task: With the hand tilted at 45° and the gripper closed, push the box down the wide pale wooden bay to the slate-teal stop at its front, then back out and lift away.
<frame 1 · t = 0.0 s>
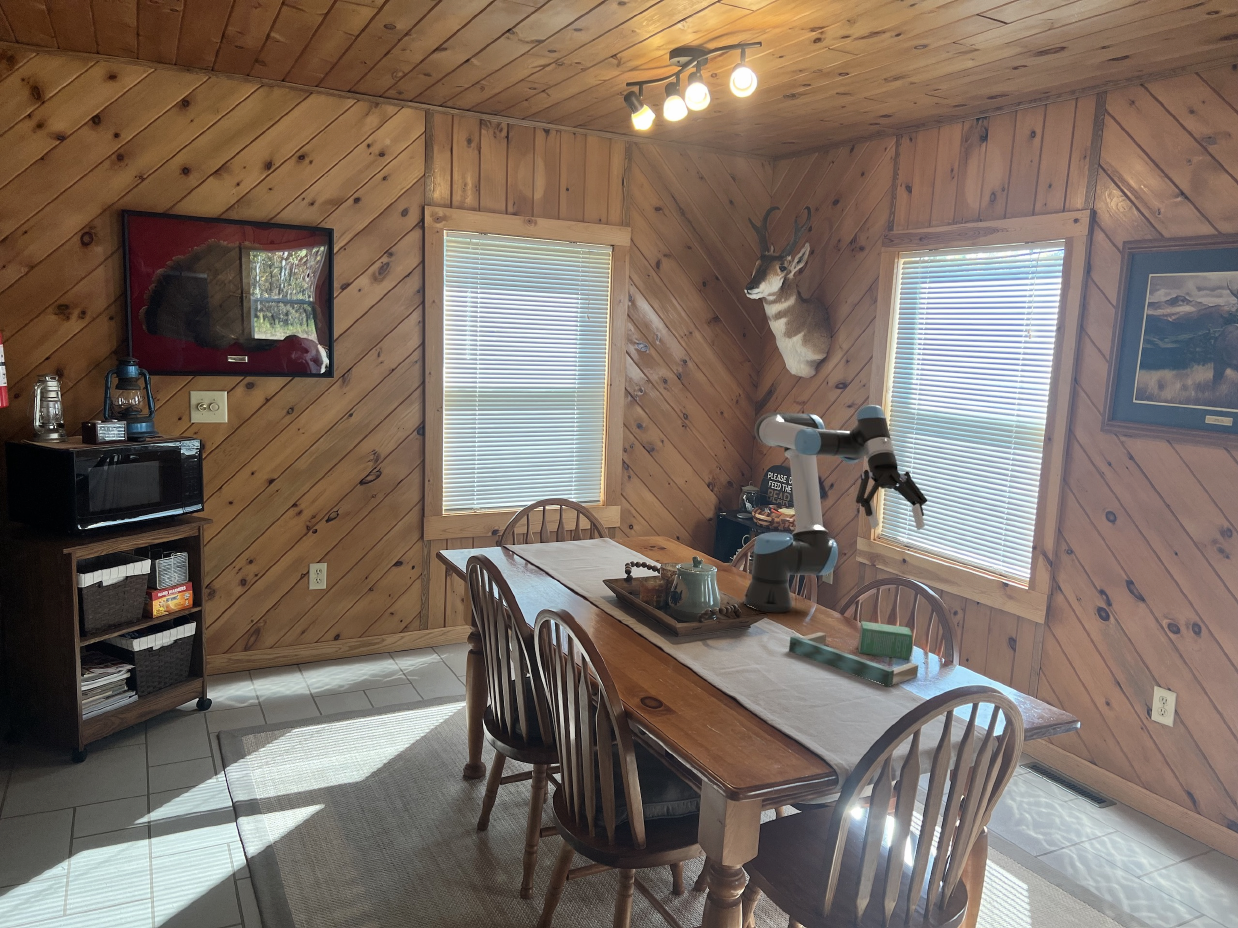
hand: (898, 527, 233), 36 cm above the table, tool tilted 35°, fingers open, 13 cm apart
box: (883, 653, 242), on the table
bay: (857, 661, 233), on the table
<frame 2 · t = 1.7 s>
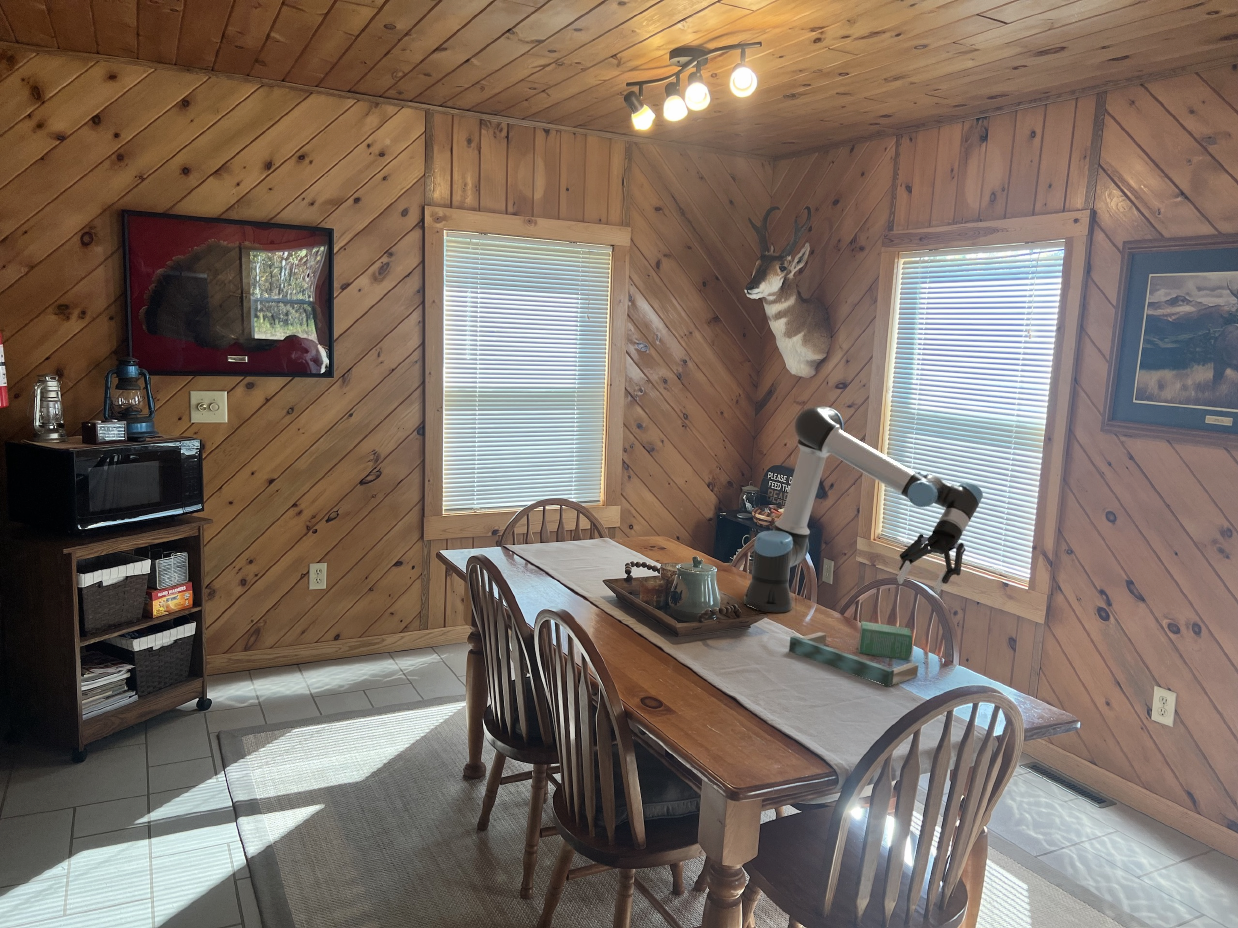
hand: (917, 585, 249), 17 cm above the table, tool tilted 45°, fingers open, 11 cm apart
nothing on the table moved.
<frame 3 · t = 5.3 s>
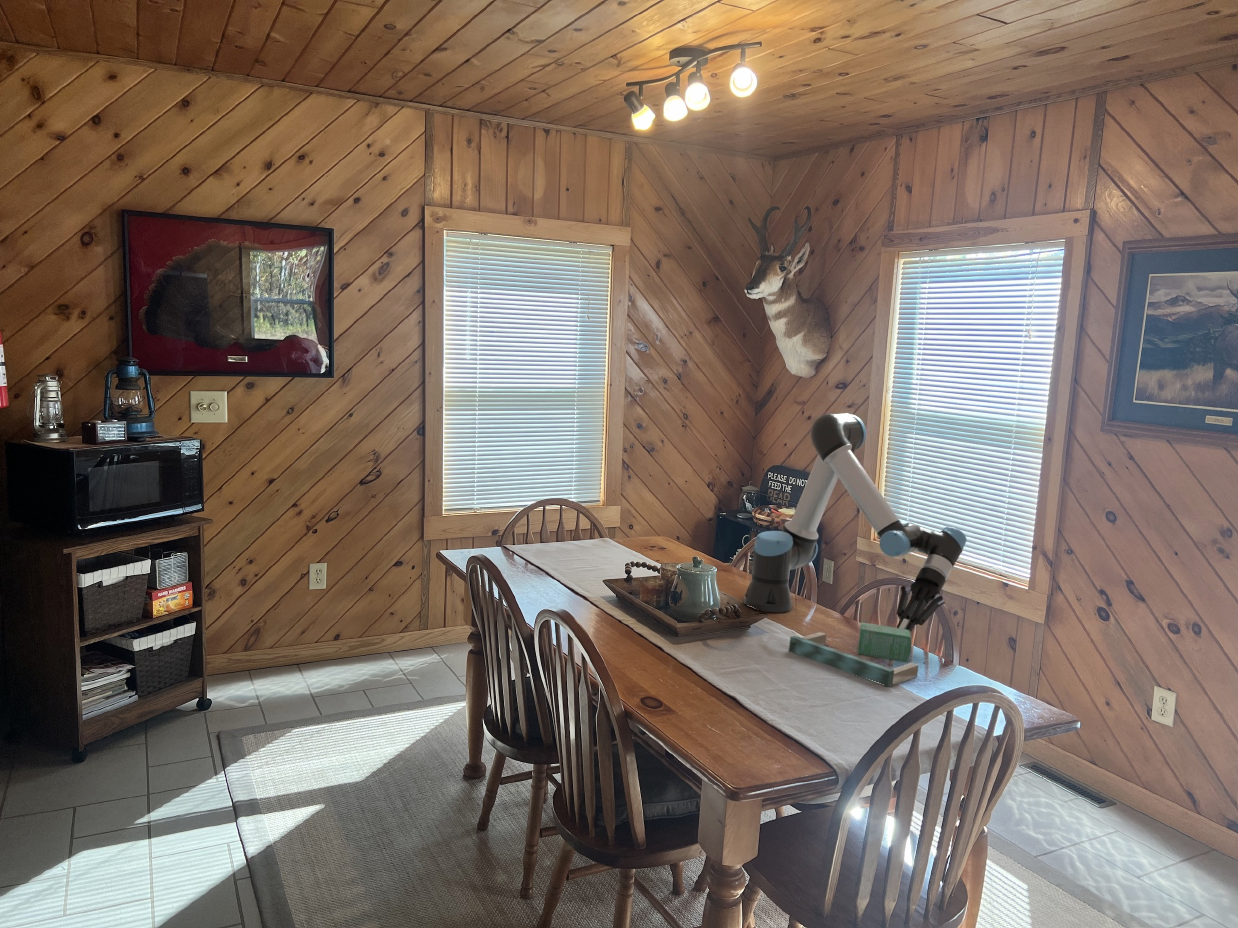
hand: (897, 640, 244), 3 cm above the table, tool tilted 45°, fingers closed
box: (882, 655, 240), on the table, touching gripper
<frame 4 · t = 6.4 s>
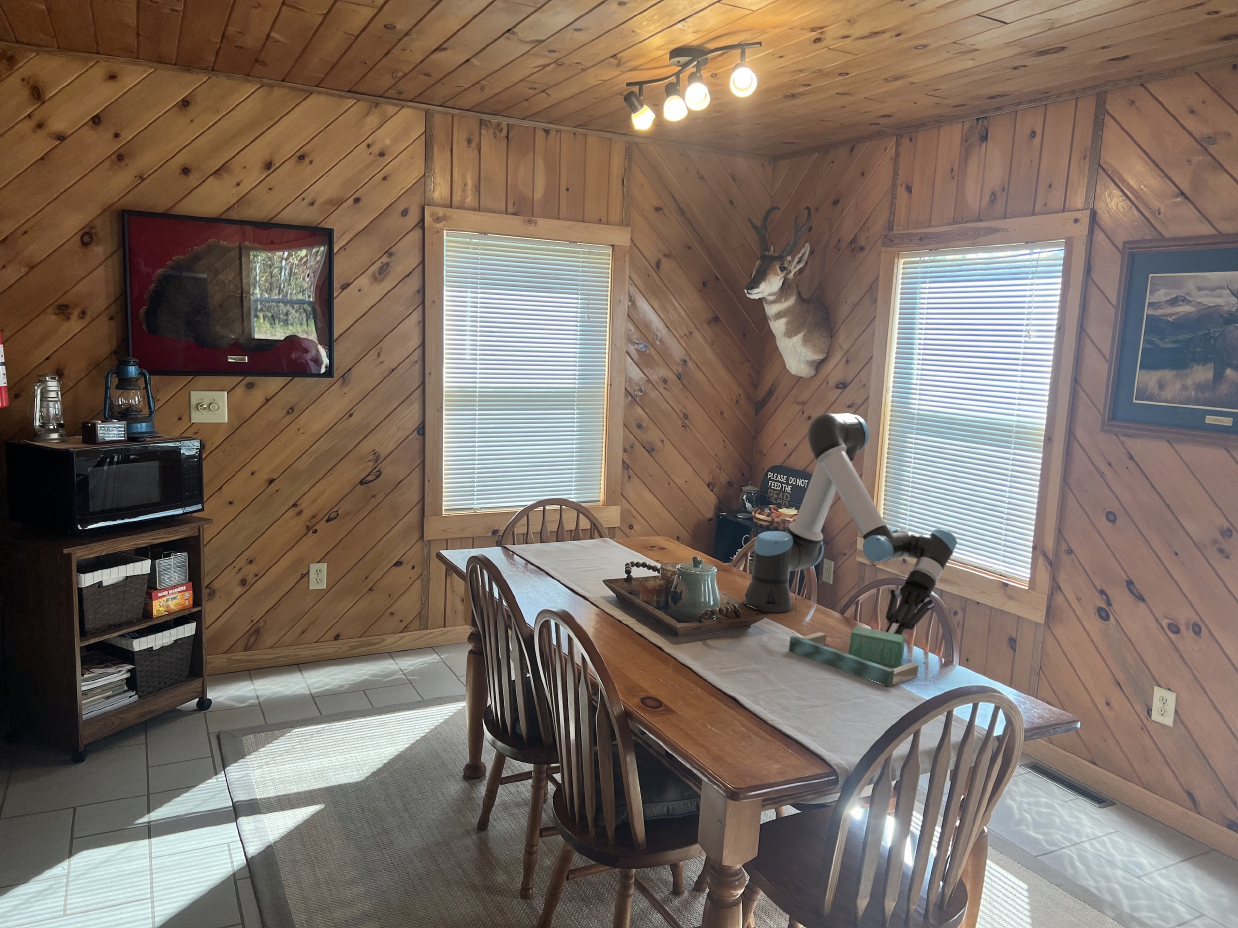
hand: (886, 645, 239), 3 cm above the table, tool tilted 45°, fingers closed
box: (875, 660, 236), on the table, touching gripper
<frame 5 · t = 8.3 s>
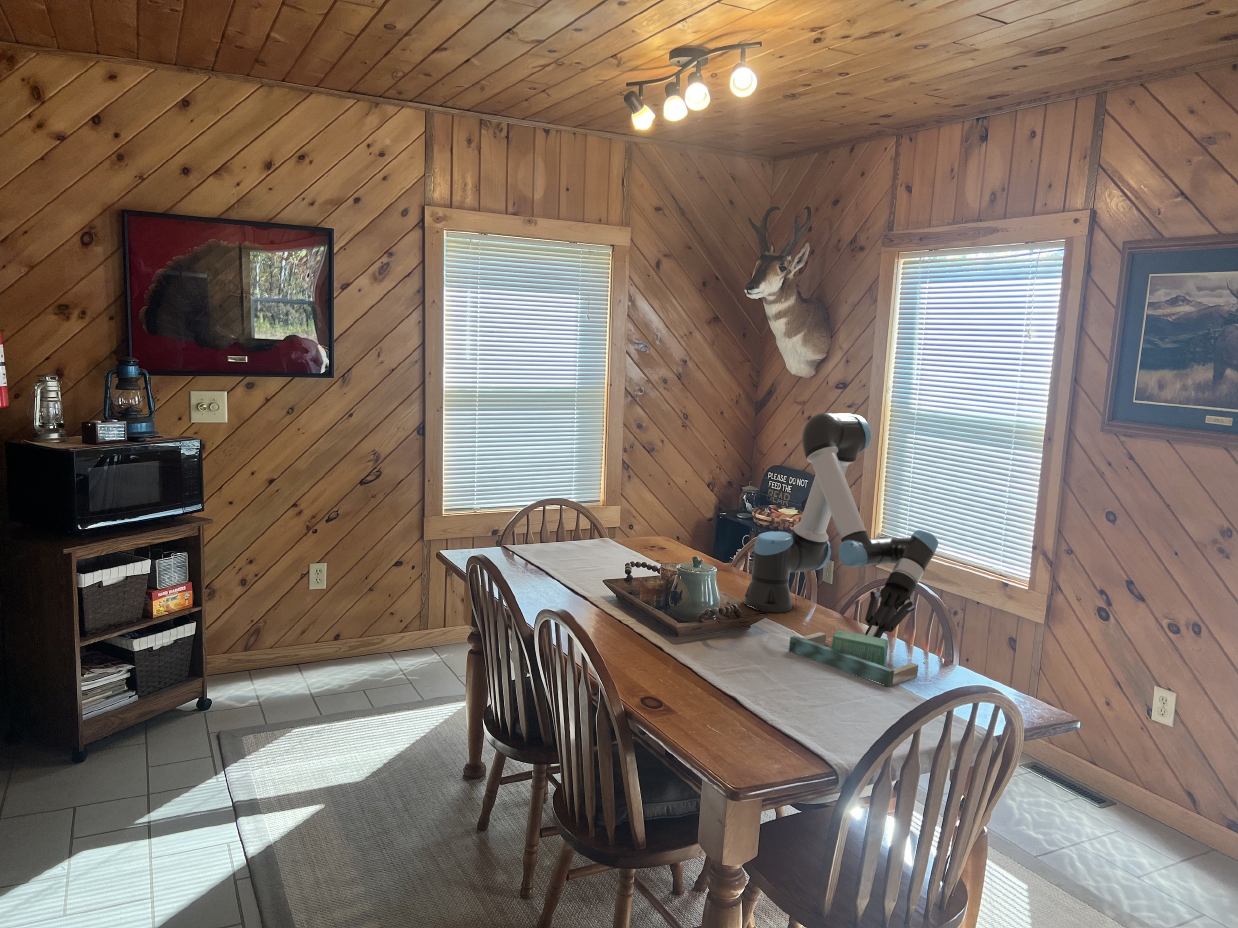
hand: (865, 648, 234), 3 cm above the table, tool tilted 45°, fingers closed
box: (857, 664, 231), on the table, touching bay, gripper
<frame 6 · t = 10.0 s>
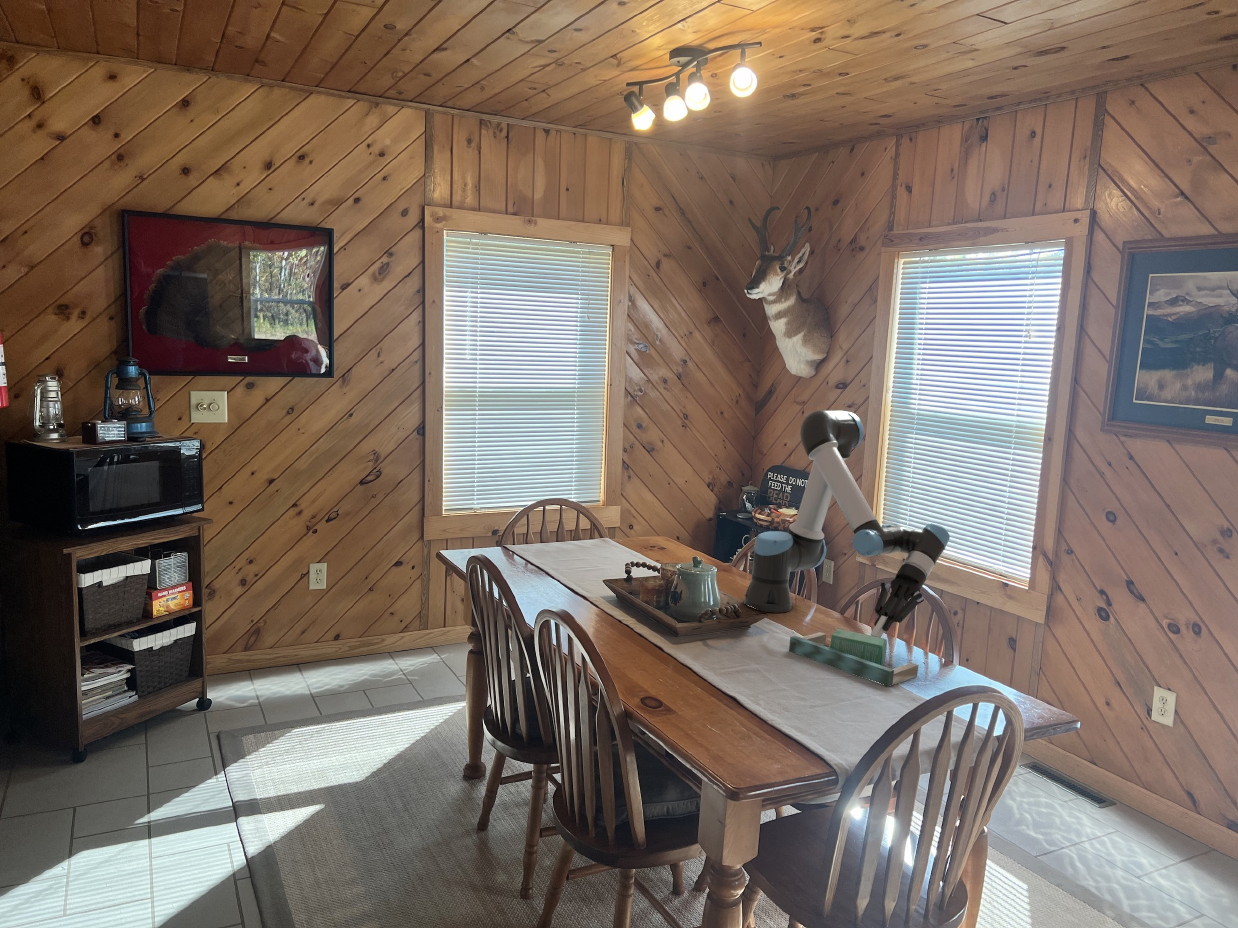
hand: (874, 637, 238), 5 cm above the table, tool tilted 45°, fingers closed
box: (856, 664, 232), on the table
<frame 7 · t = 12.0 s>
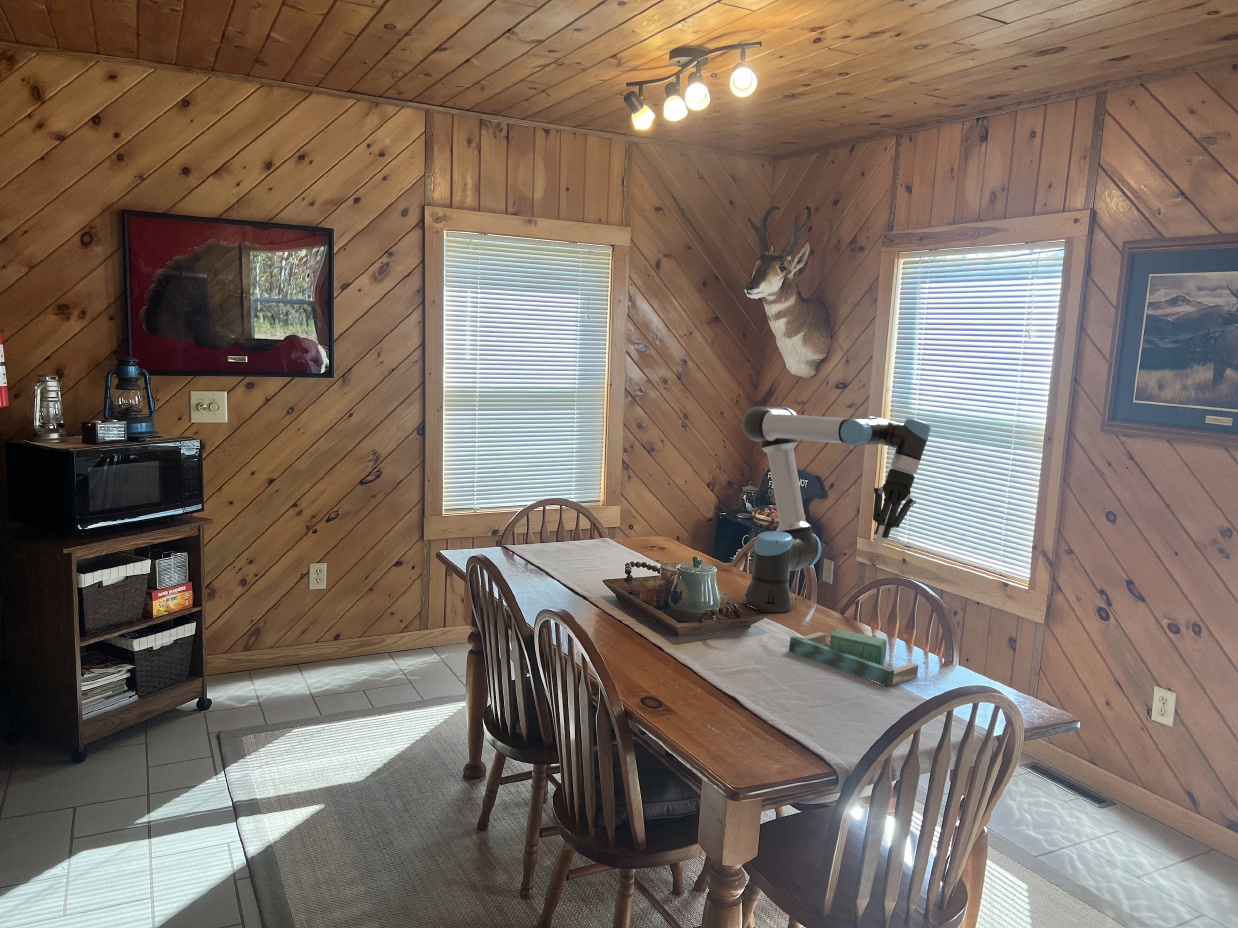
hand: (877, 547, 259), 25 cm above the table, tool pointing down, fingers closed
nothing on the table moved.
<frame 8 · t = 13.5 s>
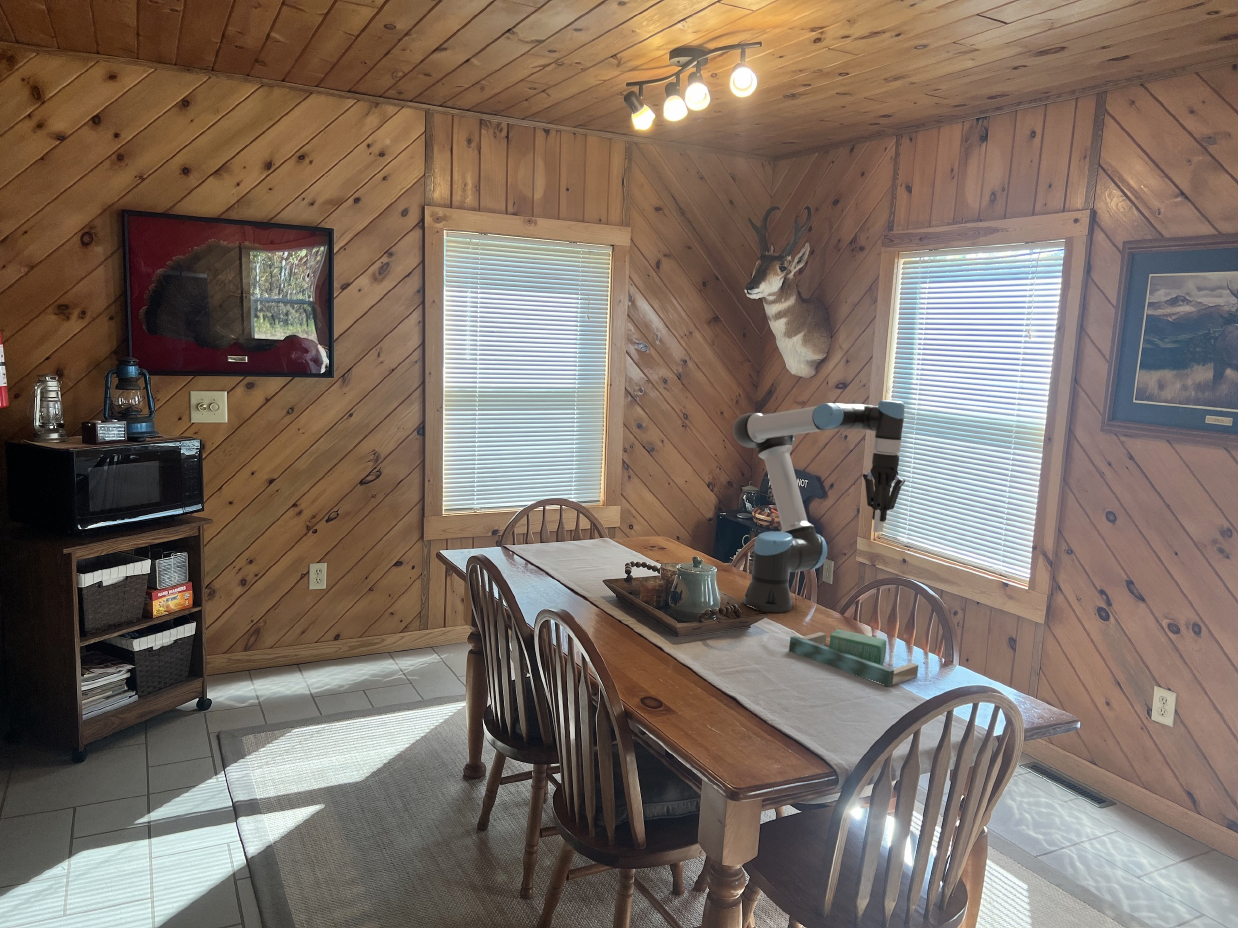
hand: (877, 531, 261), 29 cm above the table, tool pointing down, fingers closed
nothing on the table moved.
at the end: box inside the target area (1.8 cm from its centre), on the table; box tilted 0°; the gripper is holding nothing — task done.
